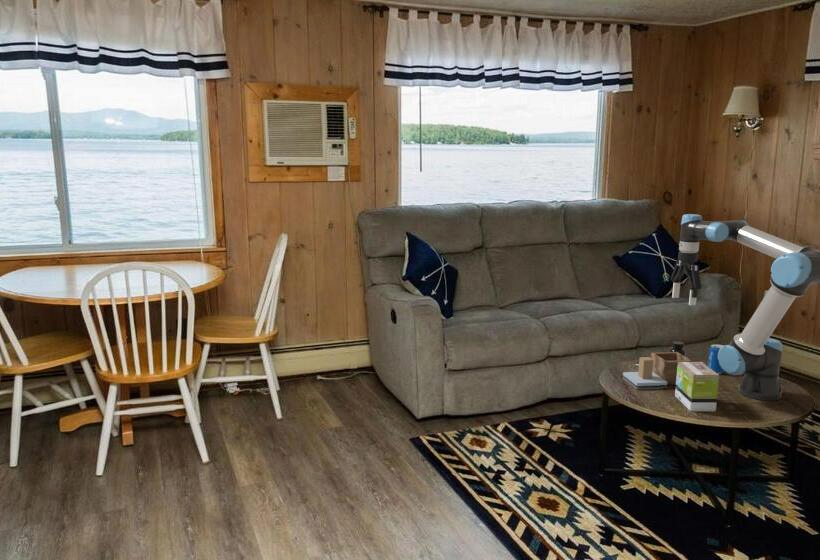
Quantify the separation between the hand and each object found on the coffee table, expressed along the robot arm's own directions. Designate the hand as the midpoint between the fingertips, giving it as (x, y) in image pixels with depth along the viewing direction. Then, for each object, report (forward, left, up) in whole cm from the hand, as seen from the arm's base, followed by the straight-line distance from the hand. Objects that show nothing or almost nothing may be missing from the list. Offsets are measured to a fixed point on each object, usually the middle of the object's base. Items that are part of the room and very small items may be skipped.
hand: (683, 301), depth 272 cm
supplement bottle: (+8, -4, -33) cm, 34 cm away
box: (-5, +6, -33) cm, 34 cm away
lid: (-9, +19, -31) cm, 38 cm away
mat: (-9, +19, -33) cm, 39 cm away
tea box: (-32, +10, -33) cm, 47 cm away
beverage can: (+2, -19, -33) cm, 38 cm away
